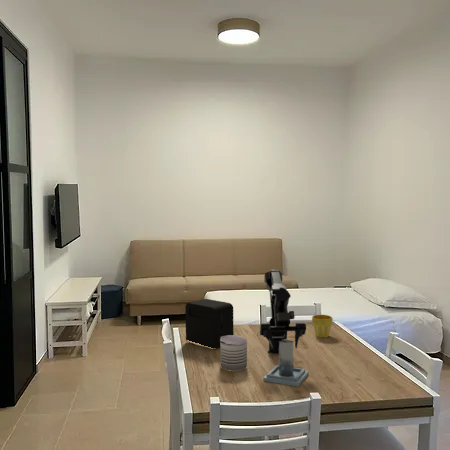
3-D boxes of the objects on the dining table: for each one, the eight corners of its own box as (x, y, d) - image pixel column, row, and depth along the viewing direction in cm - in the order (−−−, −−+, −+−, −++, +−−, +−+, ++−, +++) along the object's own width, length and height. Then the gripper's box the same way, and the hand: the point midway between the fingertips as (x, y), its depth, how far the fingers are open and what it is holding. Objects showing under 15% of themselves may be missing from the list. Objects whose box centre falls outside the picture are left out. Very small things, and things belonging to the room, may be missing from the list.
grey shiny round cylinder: (276, 373, 192) (276, 341, 191) (286, 370, 195) (286, 338, 194) (285, 377, 187) (285, 344, 187) (296, 374, 190) (296, 342, 190)
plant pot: (334, 338, 243) (334, 319, 243) (313, 338, 243) (313, 319, 243) (330, 332, 254) (330, 314, 253) (310, 332, 254) (310, 314, 253)
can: (233, 360, 212) (233, 333, 211) (252, 366, 204) (252, 338, 203) (214, 366, 204) (214, 338, 203) (233, 373, 196) (233, 344, 195)
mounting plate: (263, 380, 188) (263, 375, 188) (275, 369, 200) (275, 363, 200) (298, 386, 182) (298, 380, 182) (308, 374, 194) (308, 368, 194)
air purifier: (235, 343, 236) (235, 302, 235) (215, 350, 226) (215, 308, 224) (206, 336, 250) (205, 297, 249) (185, 342, 239) (185, 302, 238)
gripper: (260, 304, 198) (262, 338, 188) (305, 303, 199) (310, 337, 188) (258, 318, 207) (261, 351, 196) (302, 317, 207) (306, 351, 197)
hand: (284, 347), depth 194 cm, fingers open, 9 cm apart
